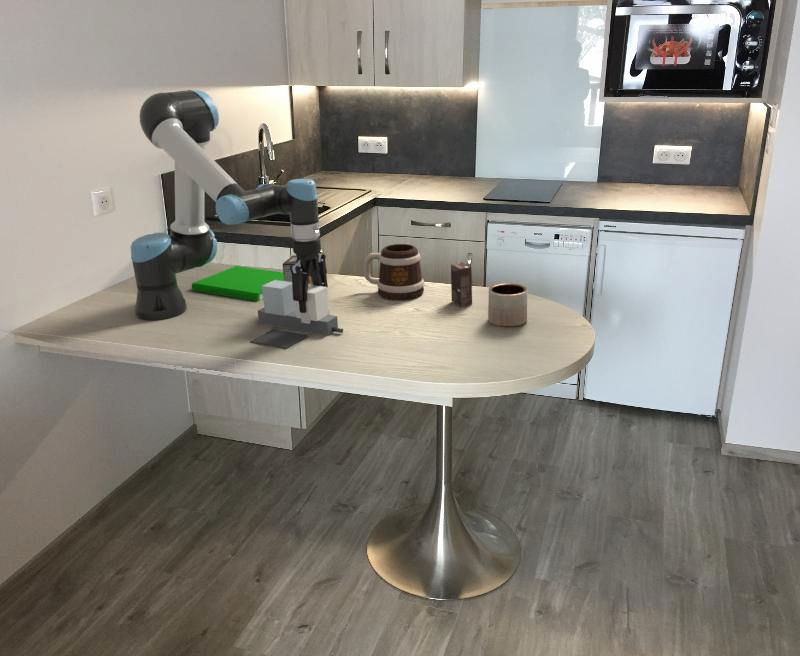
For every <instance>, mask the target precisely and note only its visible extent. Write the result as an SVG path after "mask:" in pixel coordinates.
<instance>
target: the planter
mask: <svg viewBox="0 0 800 656" xmlns="http://www.w3.org/2000/svg"><path fill="white" fill-rule="evenodd" d="M487 304H488V307H487V308H488V310H487V319H488V321H489V322H490V323H491V324H492V325H494V326H497V327H501V328H502V327H503V328H515V327H519V326H522V325H523V324H525V323H526V322H527V321H528V320H527V319H528V288H527V287H526V286H524V285H522V284H519V283H510V282H509V283H507V282H506V283H496V284H493V285H492V286H490V287H489V288H488V303H487Z"/></svg>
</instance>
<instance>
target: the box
mask: <svg viewBox="0 0 800 656" xmlns="http://www.w3.org/2000/svg"><path fill="white" fill-rule="evenodd" d="M472 270H473V269H472V266H471V265H469V264H467V263H465V262H456V263H451V264H450V287H451V289H450V291H451V302H453V303H455V304H456V305H458V306H459V308H460V307H466V306H471V305H473V283H472V282H473V279H472V278H473V276H472V275H473V274H472V272H473V271H472Z"/></svg>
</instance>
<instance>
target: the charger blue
mask: <svg viewBox="0 0 800 656" xmlns="http://www.w3.org/2000/svg"><path fill="white" fill-rule="evenodd" d="M262 292H263V299H262V300H263V308H264V310H265V313H270V314H276V315H282V316H285V315H287V314H289V313H291V312H293V311H295V301H294V300H293V291H292V282H286V281H279V280H274V281H271V282H269V283H267V284H265V285H263V286H262Z"/></svg>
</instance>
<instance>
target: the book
mask: <svg viewBox="0 0 800 656" xmlns="http://www.w3.org/2000/svg"><path fill="white" fill-rule="evenodd" d="M274 280H279V281H284V273H283V271H278V270H277V271H276V270H268V269H262V268H254V267H248V266H247V267H246V266H240V265H234V266H232V267H230V268H227V269H225V270H223V271H220V272H217V273H214V274H212V275H210V276H207V277H203V278H202V279H199V280H197V281H193V282H192V284H191V290H192V291H194V292H199V293H206V294H212V295H218V296H223V295H224V296H225V297H231V298H237V299H242V300H248V301H255V302H260V301H261V300H263V292H262V286H263V285H265V284H267V283H269V282H271V281H274Z"/></svg>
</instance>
